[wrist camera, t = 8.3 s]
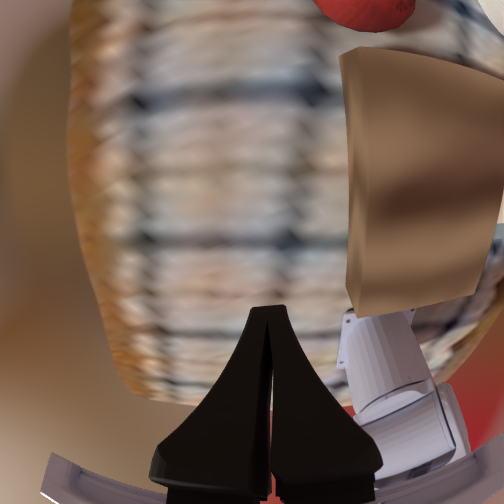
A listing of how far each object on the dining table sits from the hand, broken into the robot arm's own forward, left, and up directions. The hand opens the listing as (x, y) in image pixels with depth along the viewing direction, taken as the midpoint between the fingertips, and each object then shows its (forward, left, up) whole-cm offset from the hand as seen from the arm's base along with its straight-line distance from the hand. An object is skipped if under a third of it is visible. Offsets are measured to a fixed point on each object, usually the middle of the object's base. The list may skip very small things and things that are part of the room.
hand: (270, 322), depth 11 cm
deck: (+2, -12, -10) cm, 16 cm away
